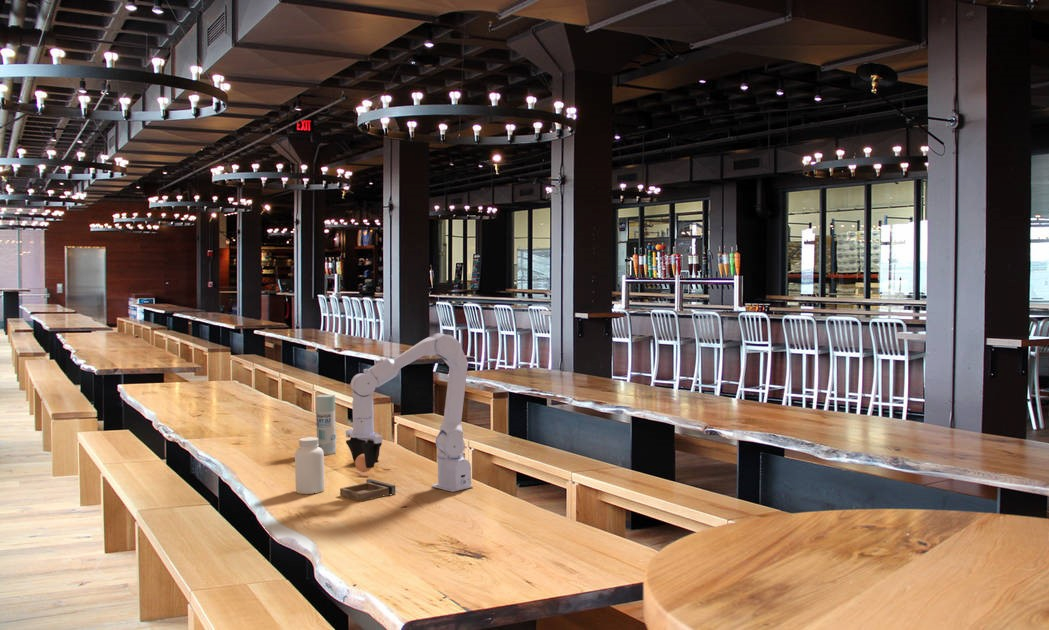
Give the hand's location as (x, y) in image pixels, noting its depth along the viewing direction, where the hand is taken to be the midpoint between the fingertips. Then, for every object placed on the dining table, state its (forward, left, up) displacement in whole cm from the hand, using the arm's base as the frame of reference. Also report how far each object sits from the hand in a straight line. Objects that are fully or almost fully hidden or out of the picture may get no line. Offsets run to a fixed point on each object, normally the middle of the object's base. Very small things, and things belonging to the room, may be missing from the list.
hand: (364, 466), depth 240 cm
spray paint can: (+58, -25, -8) cm, 64 cm away
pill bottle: (+15, +8, -8) cm, 19 cm away
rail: (0, -6, -8) cm, 10 cm away
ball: (0, 0, -2) cm, 2 cm away
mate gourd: (+35, -26, -8) cm, 45 cm away
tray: (0, 0, -8) cm, 8 cm away
